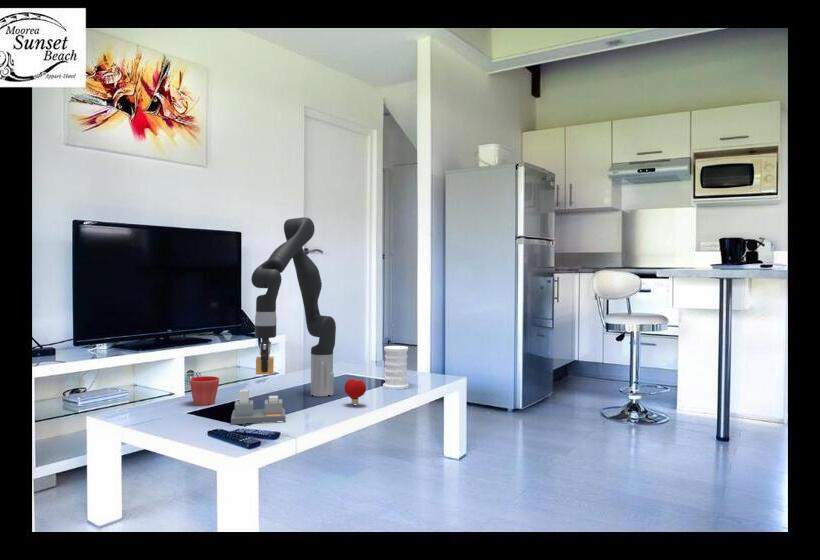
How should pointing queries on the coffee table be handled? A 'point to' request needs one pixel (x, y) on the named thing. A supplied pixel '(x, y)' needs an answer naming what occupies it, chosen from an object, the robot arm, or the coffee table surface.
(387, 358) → the decorative container
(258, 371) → the orange wooden cube
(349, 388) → the light bulb
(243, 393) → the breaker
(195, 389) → the flower pot
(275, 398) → the block
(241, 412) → the breaker panel
